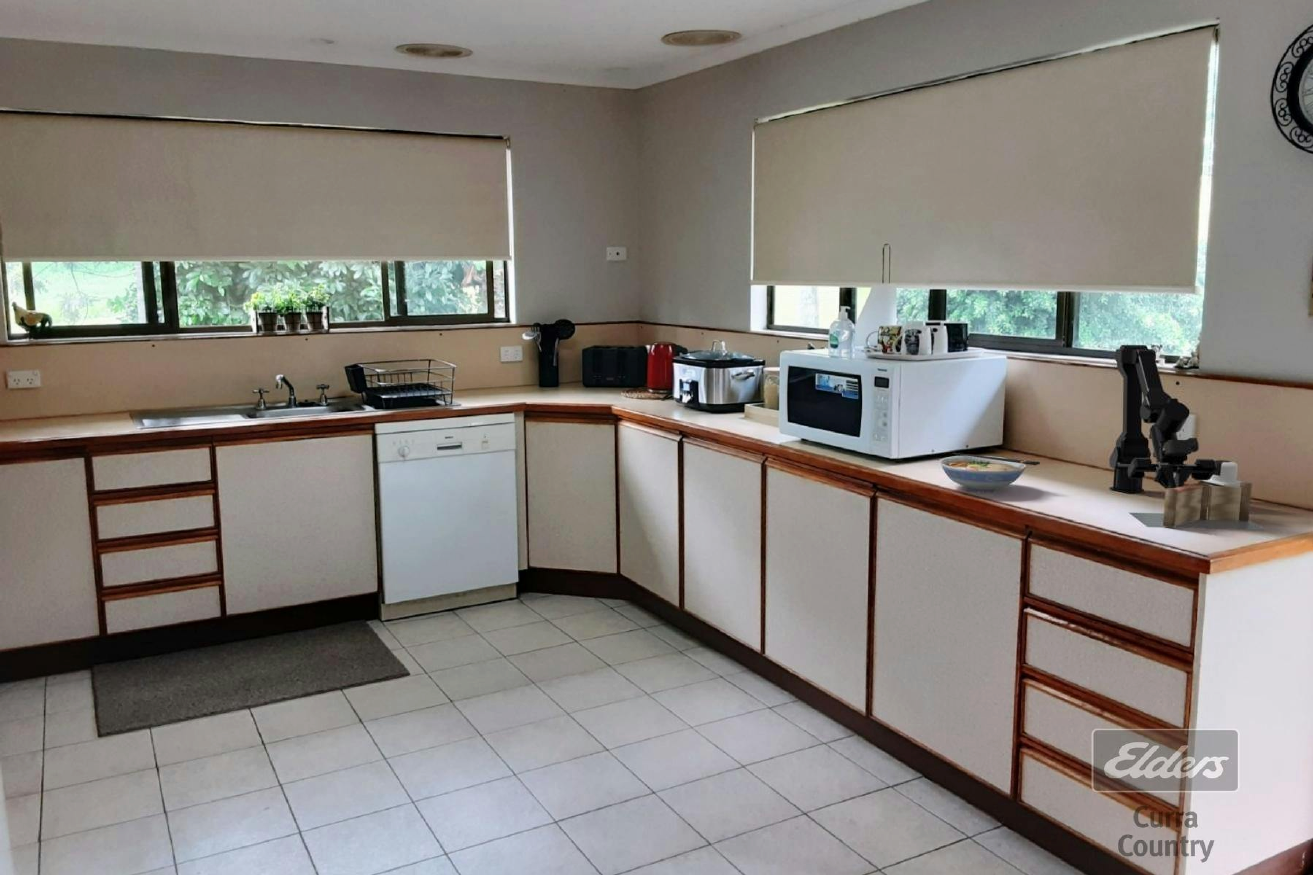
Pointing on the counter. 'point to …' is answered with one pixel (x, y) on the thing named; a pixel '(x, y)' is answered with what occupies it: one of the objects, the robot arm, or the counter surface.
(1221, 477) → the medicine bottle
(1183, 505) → the fence gate
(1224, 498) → the fence fixed
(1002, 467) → the ramen bowl
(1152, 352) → the robot arm
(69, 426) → the counter surface
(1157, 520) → the card
